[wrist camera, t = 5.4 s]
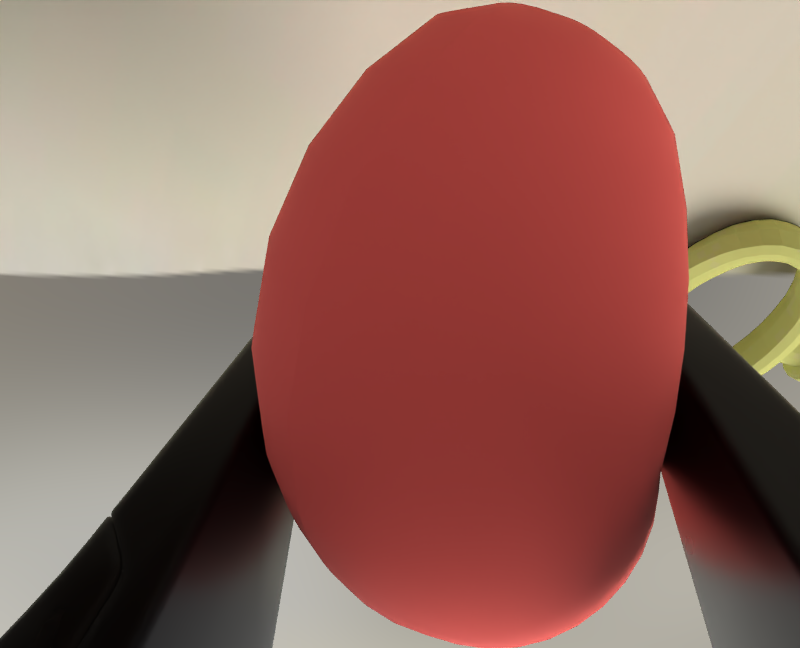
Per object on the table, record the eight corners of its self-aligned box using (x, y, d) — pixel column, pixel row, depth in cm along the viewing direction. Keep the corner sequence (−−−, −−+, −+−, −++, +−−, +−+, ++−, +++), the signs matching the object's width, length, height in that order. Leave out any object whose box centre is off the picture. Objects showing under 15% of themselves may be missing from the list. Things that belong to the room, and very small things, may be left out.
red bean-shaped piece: (280, 353, 14) (372, 672, 12) (80, 16, 5) (280, 941, 3) (511, 278, 14) (638, 573, 12) (658, -134, 6) (1147, 586, 4)
